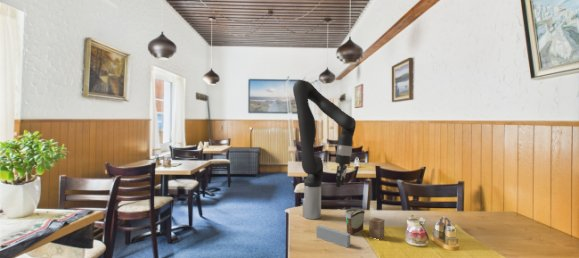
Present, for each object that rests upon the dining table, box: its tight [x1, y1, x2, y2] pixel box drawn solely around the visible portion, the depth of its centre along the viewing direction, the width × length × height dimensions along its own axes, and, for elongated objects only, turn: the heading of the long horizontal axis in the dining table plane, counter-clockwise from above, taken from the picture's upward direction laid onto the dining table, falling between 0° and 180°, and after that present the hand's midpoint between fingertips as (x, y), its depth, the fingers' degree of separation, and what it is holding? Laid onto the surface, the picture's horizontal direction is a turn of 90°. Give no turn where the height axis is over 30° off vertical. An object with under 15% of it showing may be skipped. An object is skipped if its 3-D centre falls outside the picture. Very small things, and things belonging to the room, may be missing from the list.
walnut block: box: [368, 217, 385, 241], centre depth 135 cm, size 5×5×8 cm
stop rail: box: [316, 224, 351, 248], centre depth 130 cm, size 16×2×5 cm, turn 48°
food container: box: [344, 207, 366, 236], centre depth 142 cm, size 12×6×10 cm, turn 135°
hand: (339, 186), depth 151 cm, fingers open, 8 cm apart
